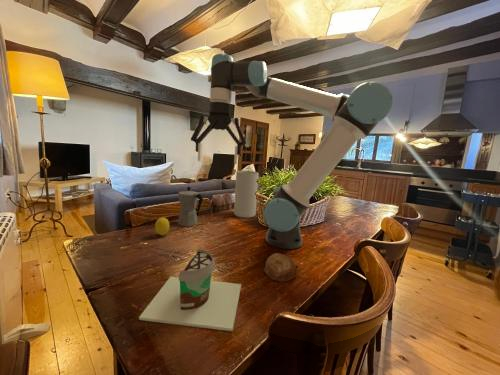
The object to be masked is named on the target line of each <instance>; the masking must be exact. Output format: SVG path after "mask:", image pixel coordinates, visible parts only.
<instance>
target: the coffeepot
mask: <svg viewBox="0 0 500 375" xmlns="http://www.w3.org/2000/svg"><path fill="white" fill-rule="evenodd" d="M186 189H187V190H183V191H181V190H180V191H178V193H177V195H178V201H179V207H180V211H179V214H178V220H177V221H178V222H177V224H178V225H179V226H180V227H193V226H197V224H198V223H199V222H198V215H197V212H199V211H200V210H201V206H202V204H203V201H204V197H203V195H202V194H201V193H199V192H197V191H194V190H191V186H187V188H186ZM197 203H198V204H197ZM196 207H197V208H196Z"/></svg>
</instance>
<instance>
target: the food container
mask: <svg viewBox="0 0 500 375" xmlns="http://www.w3.org/2000/svg"><path fill="white" fill-rule="evenodd" d="M215 269H216V264H215V259H214V256H213V254H211V253H210V252H209V251H207V250H205V249H201V248H197V250H196V254H195V255H194V256H193V257H192V258H191V259H189V262H188V264H187V265H186V266H185V268H184V269H183V270H179V274H178V277H179V281H180V307H181V310H190V309H195V308H198V307H200V306H202V305H204V304H205V303H206V302H207V300H208V298H209V290H210V282H211V281H212V275H213V274H212V273H213V272H214V271H215Z"/></svg>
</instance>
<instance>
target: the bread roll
mask: <svg viewBox="0 0 500 375" xmlns="http://www.w3.org/2000/svg"><path fill="white" fill-rule="evenodd" d="M298 268H299V266H298V265H297V263H296V262H295V260H294V259H293V258H292V257H291V256H288V255H286V254H283V253H280V252H275V253H273V254H271V255H269V256H268V258H267V259H266V262H265V267H264V269H263V271H264V272H265V274H266V276H267V278H269V279H270V280H273V281H277V282H288V281H292V280H293V279H295V278H296V276H297V275H298Z"/></svg>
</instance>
